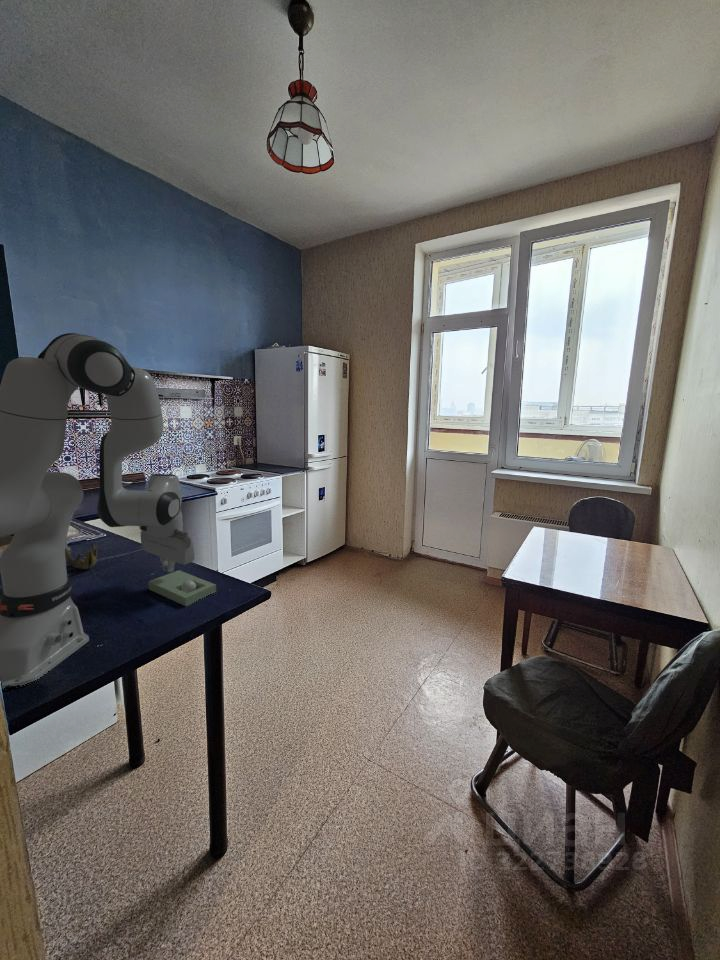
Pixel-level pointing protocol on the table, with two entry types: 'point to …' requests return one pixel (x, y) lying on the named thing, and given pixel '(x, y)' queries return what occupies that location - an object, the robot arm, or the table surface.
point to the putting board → (172, 587)
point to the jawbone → (80, 563)
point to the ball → (188, 586)
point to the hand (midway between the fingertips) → (168, 570)
